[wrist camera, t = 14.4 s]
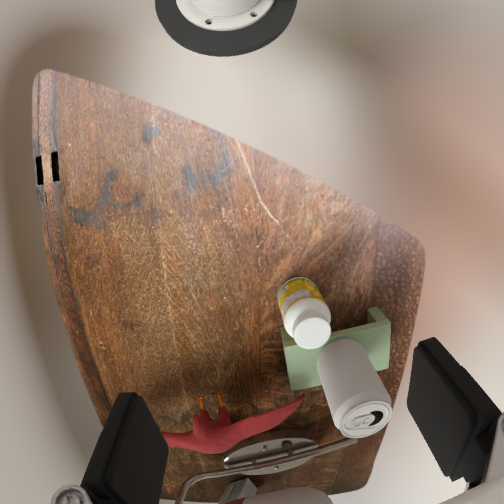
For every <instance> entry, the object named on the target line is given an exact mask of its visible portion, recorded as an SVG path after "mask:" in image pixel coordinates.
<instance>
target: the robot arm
mask: <svg viewBox="0 0 504 504" xmlns="http://www.w3.org/2000/svg"><path fill="white" fill-rule="evenodd" d="M273 2H274V0H176V3H177V6H178V8H179V10H180V11H181V13H182V14H183V16H184V17H185V18H186V19H187V20H189V21H190V22H191V23H193V24H195V25H196V26H199V27H202V28H204V29H209V30H214V31H230V30H237V29H241V28H244V27H247V26H249V25H252V24H253V23H255V22H257V21H258V20H260V19H261V18H262V17H263V16H265V15H266V14H267V12H268V11H269V10H270V8H271V7H272V4H273ZM252 16H256V17H252ZM208 23H211V24H210V25H208ZM407 407H408V410H409V412H410V413H411V415H412V417H413V419H414V421H415V422H416V424H417V426H418V428H419V430H420V431H421V433H422V435H423V437H424V439H425V440H426V442H427V444H428V446H429V448H430V450H431V451H432V453H433V455H434V457H435V459H436V461H437V463H438V465H439V467H440V468H441V470H442V472H443V474H444V475H445V476H446V477H447V476H449V477H450V479H451V480H452V482H453V481H455V480H457V479H460V478H461V477H464V479H465V481H466V482H467V484H466V488H465V491H464V493H462V494H460V495H458V496H456V497H453V498H451V499H449V500H447V501H445V502H442V503H440V504H504V413H502V412H501V411H500V410H499V409H498V408H497V406H496V405H495V404H494V403H493V401H492V400H491V399H490V398H489V397H488V395H487V394H486V393H485V392H484V390H483V389H482V388H481V387H480V386H479V385H478V383H477V382H476V381H475V380H474V379H473V377H471V375H470V374H469V373H468V372H467V370H466V369H465V368H463V367H462V366H460V365H459V363H458V362H457V361H456V360H455V359H454V358H453V357H452V355H451V354H450V353H449V352H448V351H447V350H446V349H445V348H444V346H443V345H442V344H441V343H440V342H439V341H438V340H437V339H436V338H435V337H432V338H429V339H426V340H423V341H420V342H419V343H418V346H417V347H415V348H414V354H413V362H412V370H411V378H410V386H409V392H408V398H407ZM168 451H169V450H168V444H167V442H166V440H165V439H164V437H163V435H162V433H161V432H160V430H159V428H158V426H157V424H156V422H155V421H154V419H153V417H152V415H151V413H150V411H149V409H148V407H147V405H146V403H145V401H144V399H143V398H142V397H141V396H138V395H137V393H135V392H126V393H119V394H118V396H117V398H116V400H115V403H114V405H113V407H112V410H111V412H110V414H109V417H108V419H107V421H106V424H105V426H104V429H103V431H102V432H101V435H100V437H99V439H98V442H97V444H96V447H95V449H94V452H93V454H92V457H91V459H90V462H89V464H88V467H87V470H86V472H85V475H84V477H83V480H82V483H81V485H80V486H77V485H66V486H63V487H61V488H60V489H58V491H56V492H55V494H54V495H53V497H52V500H51V504H159V500H160V494H161V489H162V483H163V478H164V473H165V468H166V462H167V457H168Z"/></svg>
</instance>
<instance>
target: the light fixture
mask: <svg viewBox="0 0 504 504" xmlns="http://www.w3.org/2000/svg"><path fill="white" fill-rule="evenodd" d="M357 442H358V441H357V438H349V437H347V438H344V439H341V440H339V441H335V442H332V443H329V444H326V445H323V446H320V447H319V446H318V442H317V438H316V435H315V434H314V433H312V432H310V431H307V430H303V429H280V430H273V431H267V432H263V433H259V434H256V435H252V436H250V437H248V438H246V439H243V440H241V441H240V442H238V443H237V444H235V445H234V446H233V447H232V448H231V449H229V450H227V451H225V452H224V466H225V468H226V469H220V470H214V471H208V472H202V473H197V474H195V475H192V476H190V477H189V478H187V479H186V480H185V481H184V483H183V484H182V486H181V488H180V490H179V493H178V496H177V499H176V502H175V504H183V501H184V499H185V496H186V493H187V491H188V489H189V488H190V487H191V486H192V485H193V484H194V483H195V482H197V481H199V480H202V479H207V478H215V477H222V476H229V475H235V474H245V475H262V474H270V473H276V472H281V471H284V470H288V469H291V468H294V467H296V466H299V465H301V464H303V463H305V462H306V461H308V460H309V459H311V458H312V457H313V456H317V455H320V454H324V453H327V452H330V451H333V450H336V449H339V448H342V447H345V446H348V445H351V444H354V443H357ZM225 504H333V503H332V501H331V500H330V498H329V497H328V496H327V495H326V494H325V493H323V492H322V491H320V490H317V489H314V488H309V487H295V488H289V489H285V490H280V491H275V492H270V493H265V494H260V495H254V496H249V497H243V498H239V499H236V500H232V501H230V502H227V503H225Z"/></svg>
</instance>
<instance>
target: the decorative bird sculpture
mask: <svg viewBox="0 0 504 504" xmlns="http://www.w3.org/2000/svg"><path fill="white" fill-rule="evenodd" d="M213 395H217V396H218V399H219V403H220V408H219V412H218V418H217V419H216V420H212V419H211V418H210V416H209V414H208V412H207V411H206V410H204V406H203V402H202V397H198V398H195V397H194V398H195V399H199V400H200V404H201V408H202V410H201V411H200V413H199V417H198V415H197V414H196V413H195V415H194V417H193V430H191V431H189V432H187V433H167V432H161V433H162V435H163V437H164V439H165V440H166V442H167V444H168V447H181V448H186V449H192V450H197V451H200V452H202V453H207V454H214V453H221V452H225V451H227V450H229V449H231V448H232V447H233V446H234V445H235V444H237V443H238V442H240V441H241V440H243V439H246V438H248V437H250V436H252V435H256V434H259V433H261V432H263V431H266V430H270V429H272V428H273V427H275V426H277V425H278V424H281V422H282V421H283V420H285V419H286V418H287V417H288V416H289V415H290V414H292V413H293V412H294V410H295V409H296V408H297V407H298V406H299V405H300V404H301V402H302V401H303V399H304V398H305V394H302V395H301V396H300V397H299V398H298V399H297V400H296V401H294V402H291V403H288V404H286V405H284V406H282V407H279V408H276V409H274V410H271V411H269V412H266V413H263V414H260V415H256V416H252V417H248V418H245V419H243V420H240V421H238V422H236V423H234V424H232V422H231V420H230V417H229V415H228V411H227V409H226V408H225V407H224V406H223V404H222V401H221V397H220V395H221V393H220V394H218V393H217V394H213Z"/></svg>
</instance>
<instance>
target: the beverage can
mask: <svg viewBox="0 0 504 504" xmlns="http://www.w3.org/2000/svg"><path fill="white" fill-rule="evenodd" d="M316 366H317V370H318V373H319V376H320V379H321V383H322V386H323V389H324V392H325V395H326V399H327V402H328V405H329V408H330V411H331V415H332V418H333V421H334V424H335V426H336V427H337V428H338V429H339V430H340V431H341V433H342V434H343V435H344V436H346V437H349V438H363V437H367V436H369V435H372V434H374V433H376V432H378V431H379V430H381V429H382V428H383V427H384V426H385V425H386V424H387V423H388V422H389V420H390V418H391V416H392V408H391V403H392V402H391V398H390V396H389V394H388V392H387V391H386V389H385V387H384V385H383V383H382V381H381V379H380V378H379V376H378V374H377V372H376V370H375V369H374V367H373V365H372V363H371V361H370V360H369V358H368V356H367V354H366V352H365V351H364V349H363V347H362V346H361V345H360V344H359V343H358V342H357V341H354V340H351V339H340V340H337V341H334V342H332V343H330V344H328V345H327V346H326V347H325V348H324V349H323V350H322V351H321V352H320V354H319V355H318V358H317V362H316Z"/></svg>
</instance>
